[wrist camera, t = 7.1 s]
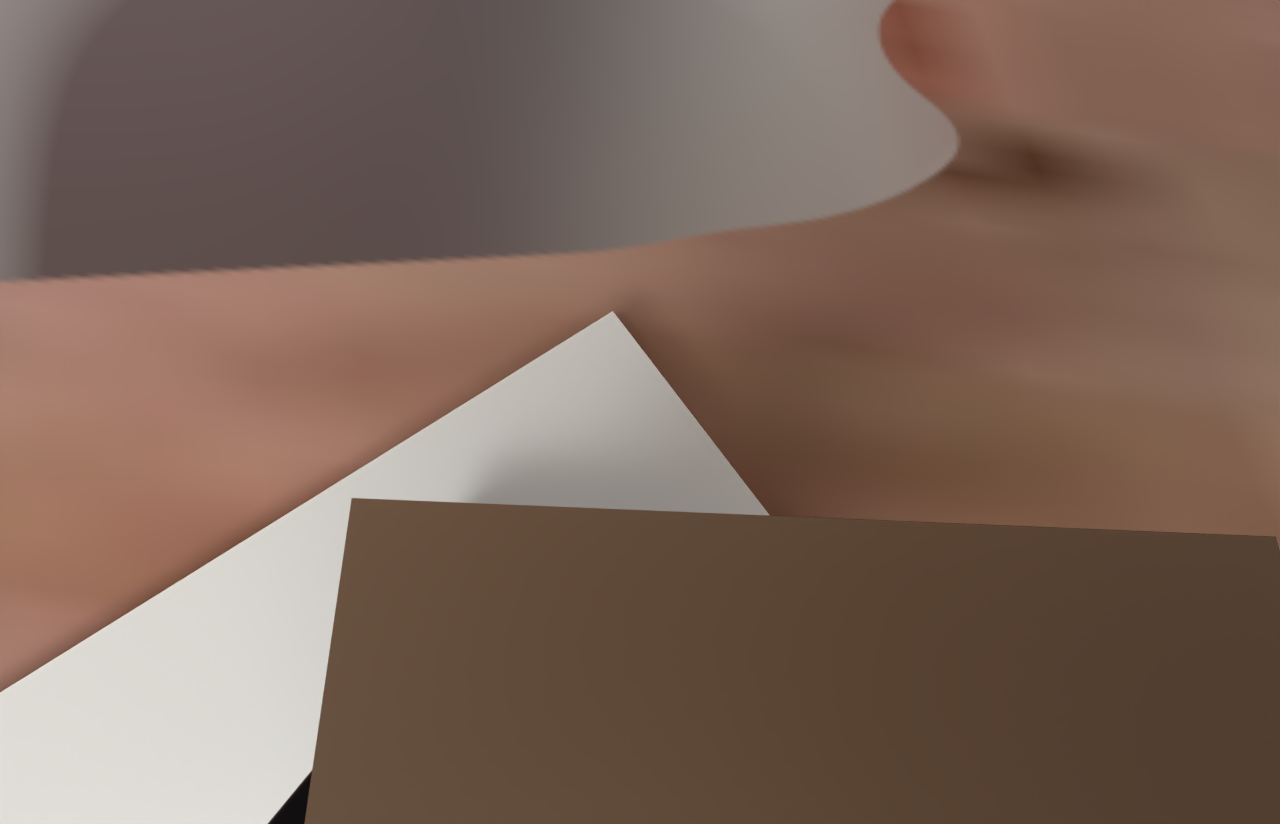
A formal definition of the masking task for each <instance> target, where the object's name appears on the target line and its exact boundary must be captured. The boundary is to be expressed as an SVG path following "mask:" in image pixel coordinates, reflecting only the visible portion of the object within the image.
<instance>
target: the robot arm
mask: <svg viewBox="0 0 1280 824" xmlns="http://www.w3.org/2000/svg"><path fill="white" fill-rule="evenodd" d="M311 775H312V770H311V772H310V773H309V774H308V775H307V776H306V778H305V779H304V780H303V781H302V783H301V784H300V785H299V786H298V787H297V789H296V790H295V791H294V792H293V793H292V795H291V796H290V797H289V798H288V799H287V801H286V802H285V803H284V804H283V806H282V807H281V808H280V809H279V810H278V812H277V813H276V814H275V815H274V816H273V818H272V819H271V820H270V821H269V822H268V824H305V817H306V810H307V803H308V796H309V789H310V782H311Z"/></svg>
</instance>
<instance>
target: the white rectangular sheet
mask: <svg viewBox="0 0 1280 824" xmlns="http://www.w3.org/2000/svg"><path fill="white" fill-rule="evenodd" d="M352 498H364V499H388V500H412V501H436V502H460V503H484V504H507V505H531V506H555V507H579V508H603V509H627V510H651V511H675V512H698V513H722V514H746V515H769V514H768V513H767V511H766V510H765V509H764V507H763V506H762V505H761V503H760V502H759V501H758V500H757V498H756V497H755V496H754V494H753V493H752V492H751V490H750V489H749V488H748V487H747V485H746V484H745V483H744V481H743V480H742V479H741V477H740V476H739V475H738V474H737V472H736V471H735V470H734V468H733V467H732V466H731V464H730V463H729V462H728V460H727V459H726V458H725V457H724V455H723V454H722V453H721V451H720V450H719V449H718V447H717V446H716V445H715V444H714V442H713V441H712V440H711V438H710V437H709V436H708V434H707V433H706V432H705V431H704V429H703V428H702V427H701V425H700V424H699V423H698V421H697V420H696V419H695V418H694V416H693V415H692V414H691V412H690V411H689V410H688V408H687V407H686V406H685V405H684V403H683V402H682V401H681V399H680V398H679V397H678V395H677V394H676V393H675V391H674V390H673V389H672V388H671V386H670V385H669V384H668V382H667V381H666V380H665V378H664V377H663V376H662V375H661V373H660V372H659V371H658V369H657V368H656V367H655V365H654V364H653V363H652V362H651V360H650V359H649V358H648V356H647V355H646V354H645V352H644V351H643V350H642V349H641V347H640V346H639V345H638V343H637V342H636V341H635V339H634V338H633V337H632V336H631V334H630V333H629V332H628V330H627V329H626V328H625V326H624V325H623V324H622V322H621V321H620V320H619V319H618V317H617V316H616V315H615V313H614V312H613V311H612V312H610V313H609V314H607V315H606V316H604V317H602V318H601V319H599V320H598V321H596V322H594V323H593V324H591V325H590V326H588V327H586V328H585V329H583V330H582V331H580V332H578V333H577V334H575V335H573V336H572V337H570V338H569V339H567V340H565V341H564V342H562V343H561V344H559V345H557V346H556V347H554V348H553V349H551V350H549V351H548V352H546V353H545V354H543V355H541V356H540V357H538V358H537V359H535V360H533V361H532V362H530V363H529V364H527V365H525V366H524V367H522V368H520V369H519V370H517V371H516V372H514V373H512V374H511V375H509V376H508V377H506V378H504V379H503V380H501V381H500V382H498V383H496V384H495V385H493V386H492V387H490V388H488V389H487V390H485V391H484V392H482V393H480V394H479V395H477V396H476V397H474V398H472V399H471V400H469V401H468V402H466V403H464V404H463V405H461V406H459V407H458V408H456V409H455V410H453V411H451V412H450V413H448V414H447V415H445V416H443V417H442V418H440V419H439V420H437V421H435V422H434V423H432V424H431V425H429V426H427V427H426V428H424V429H423V430H421V431H419V432H418V433H416V434H415V435H413V436H411V437H410V438H408V439H406V440H405V441H403V442H402V443H400V444H398V445H397V446H395V447H394V448H392V449H390V450H389V451H387V452H386V453H384V454H382V455H381V456H379V457H378V458H376V459H374V460H373V461H371V462H370V463H368V464H366V465H365V466H363V467H362V468H360V469H358V470H357V471H355V472H353V473H352V474H350V475H349V476H347V477H345V478H344V479H342V480H341V481H339V482H337V483H336V484H334V485H333V486H331V487H329V488H328V489H326V490H325V491H323V492H321V493H320V494H318V495H317V496H315V497H313V498H312V499H310V500H309V501H307V502H305V503H304V504H302V505H301V506H299V507H297V508H296V509H294V510H292V511H291V512H289V513H288V514H286V515H284V516H283V517H281V518H280V519H278V520H276V521H275V522H273V523H272V524H270V525H268V526H267V527H265V528H264V529H262V530H260V531H259V532H257V533H256V534H254V535H252V536H251V537H249V538H248V539H246V540H244V541H243V542H241V543H239V544H238V545H236V546H235V547H233V548H231V549H230V550H228V551H227V552H225V553H223V554H222V555H220V556H219V557H217V558H215V559H214V560H212V561H211V562H209V563H207V564H206V565H204V566H203V567H201V568H199V569H198V570H196V571H195V572H193V573H191V574H190V575H188V576H186V577H185V578H183V579H182V580H180V581H178V582H177V583H175V584H174V585H172V586H170V587H169V588H167V589H166V590H164V591H162V592H161V593H159V594H158V595H156V596H154V597H153V598H151V599H150V600H148V601H146V602H145V603H143V604H142V605H140V606H138V607H137V608H135V609H134V610H132V611H130V612H129V613H127V614H125V615H124V616H122V617H121V618H119V619H117V620H116V621H114V622H113V623H111V624H109V625H108V626H106V627H105V628H103V629H101V630H100V631H98V632H97V633H95V634H93V635H92V636H90V637H89V638H87V639H85V640H84V641H82V642H81V643H79V644H77V645H76V646H74V647H72V648H71V649H69V650H68V651H66V652H64V653H63V654H61V655H60V656H58V657H56V658H55V659H53V660H52V661H50V662H48V663H47V664H45V665H44V666H42V667H40V668H39V669H37V670H36V671H34V672H32V673H31V674H29V675H28V676H26V677H24V678H23V679H21V680H19V681H18V682H16V683H15V684H13V685H11V686H10V687H8V688H7V689H5V690H3V691H2V692H0V824H268V822H269V821H270V820H271V819H272V818H273V816H274V815H275V814H276V813H277V812H278V810H279V809H280V808H281V807H282V806H283V804H284V803H285V802H286V801H287V799H288V798H289V797H290V796H291V795H292V793H293V792H294V791H295V790H296V789H297V787H298V786H299V785H300V784H301V783H302V781H303V780H304V779H305V778H306V776H307V775H308V774H309V773H310V772H311V770H312V768H313V761H314V754H315V748H316V741H317V734H318V727H319V720H320V713H321V706H322V699H323V692H324V685H325V679H326V672H327V665H328V658H329V651H330V644H331V637H332V630H333V623H334V616H335V609H336V603H337V596H338V589H339V582H340V575H341V568H342V561H343V554H344V547H345V540H346V533H347V527H348V520H349V513H350V506H351V499H352Z"/></svg>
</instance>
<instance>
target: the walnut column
mask: <svg viewBox="0 0 1280 824" xmlns="http://www.w3.org/2000/svg"><path fill="white" fill-rule="evenodd" d="M305 824H1280V551H1279V547H1278V543H1277V539H1276V537H1271V536H1248V535H1224V534H1200V533H1176V532H1152V531H1128V530H1104V529H1080V528H1057V527H1033V526H1009V525H985V524H961V523H937V522H913V521H889V520H866V519H842V518H818V517H794V516H770V515H746V514H722V513H698V512H675V511H651V510H627V509H603V508H579V507H555V506H531V505H507V504H484V503H460V502H436V501H412V500H388V499H364V498H352V499H351V506H350V513H349V520H348V527H347V533H346V540H345V547H344V554H343V561H342V568H341V575H340V582H339V589H338V596H337V603H336V609H335V616H334V623H333V630H332V637H331V644H330V651H329V658H328V665H327V672H326V679H325V685H324V692H323V699H322V706H321V713H320V720H319V727H318V734H317V741H316V748H315V754H314V761H313V768H312V775H311V782H310V789H309V796H308V803H307V810H306V817H305Z"/></svg>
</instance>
